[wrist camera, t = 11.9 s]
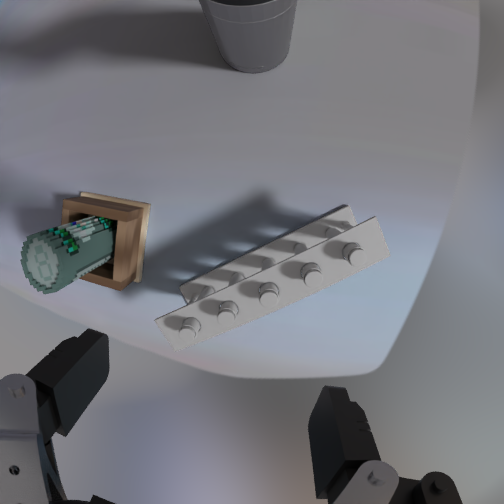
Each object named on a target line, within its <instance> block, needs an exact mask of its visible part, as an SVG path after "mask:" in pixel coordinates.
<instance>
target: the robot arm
mask: <svg viewBox="0 0 504 504" xmlns="http://www.w3.org/2000/svg"><path fill="white" fill-rule="evenodd" d="M199 2H200V4H201V7H202V9H203V11H204V14H205V16H206V18H207V21H208V23H209V26H210V28H211V31H212V33H213V36H214V38H215V40H216V43H217V46H218V48H219V51H220V53H221V55H222V57H223V59H224V60H225V61H226V62H227V64H229V65H230V66H231V67H233V68H235V69H237V70H239V71H242V72H246V73H261V72H265V71H269V70H271V69H273V68H275V67H277V66H278V65H279V64H280V63H282V61H283V60H284V59H285V58H286V56H287V54H288V51H289V46H290V41H291V35H292V29H293V23H294V17H295V11H296V4H297V0H199ZM108 374H109V340H108V336H107V335H106V334H104V333H101V332H98V331H95V330H92V329H87V330H86V331H85V332H84V333H82V334H81V335H80V336H79V337H78V338H77V337H75V336H74V337H71V338H69V339H66V340H64V341H62V342H61V343H60V344H59V345H58V346H57V347H55V350H52V351H51V352H50V353H49V355H47V356H46V357H44V358H43V359H42V360H41V361H40V362H39V363H38V364H37V365H36V366H35V367H34V368H32V369H31V370H30V371H29V372H28V373H27V374H26V375H22V374H10V375H7V376H5V377H4V378H3V379H1V380H0V504H115V503H112V502H110V501H107V500H105V499H103V498H100V497H98V496H95V495H93V497H92V499H91V501H90V502H88V501H81V500H68V499H67V497H66V494H65V492H64V489H63V486H62V483H61V480H60V476H59V471H58V467H57V462H56V458H55V453H54V447H53V443H52V438H51V437H52V436H53V434H54V433H55V432H57V433H59V434H61V435H63V436H65V437H66V436H67V435H68V433H69V432H70V430H71V429H72V428H73V426H74V425H75V423H76V422H77V420H78V419H79V417H80V416H81V415H82V413H83V412H84V411H85V409H86V408H87V406H88V405H89V404H90V402H91V401H92V399H93V398H94V397H95V395H96V394H97V393H98V391H99V390H100V388H101V387H102V386H103V384H104V383H105V382H106V380H107V377H108ZM367 422H368V421H367V418H366V415H365V412H364V410H363V409H362V408H361V407H360V406H359V405H358V404H357V403H356V402H351V401H350V399H349V396H348V393H347V390H346V388H343V387H334V386H324V387H323V389H322V391H321V393H320V395H319V398H318V400H317V403H316V404H315V407H314V409H313V411H312V413H311V416H310V419H309V424H308V432H309V439H310V448H311V456H312V463H313V472H314V482H315V491H316V498H317V499H328V504H462V501H461V499H460V496H459V493H458V491H457V488H456V486H455V484H454V481H453V480H452V479H451V478H450V477H449V476H448V475H446V474H444V473H442V472H430V473H428V474H426V475H425V476H424V477H423V478H422V479H421V480H413V479H407V478H402V477H399V476H398V473H397V471H396V470H395V469H394V468H393V467H392V466H390V465H389V464H387V463H385V462H382V461H381V458H380V455H379V452H378V450H377V447H376V444H375V441H374V438H373V435H372V432H370V430H371V429H370V426H369V424H368V423H367Z"/></svg>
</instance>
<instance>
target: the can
mask: <svg viewBox="0 0 504 504" xmlns="http://www.w3.org/2000/svg"><path fill="white" fill-rule="evenodd" d="M117 225H118V220H114V219H109V218H104V217H100V216H93V217H89V218H86V219H82V220H79V221H75V222H72V223H68V224H65V225H61V226H58V227H55V228H51V229H48V230H45V231H41V232H38V233H36V234H33V235H30V236H28V237H27V241H26V242H23V245H24V246H23V247H22V250H23V251H21V255H22V259H21V264H22V267H23V270H24V274H25V277H26V278H28V279H29V282H30V285H33V287H34V288H37V291H43V294H48V293H53V292H57V291H59V290H60V289H62V288H64V287H65V286H67V285H69V284H70V283H72V282H73V281H75V280H77V279H78V278H80V277H82V276H84V275H85V274H87V273H89V272H90V271H92V270H94V269H95V268H97V267H99V266H101V265H102V264H104V263H106V262H107V261H109V260H111V259H113V258H114V256H115V245H116V234H117Z"/></svg>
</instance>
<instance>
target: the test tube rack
mask: <svg viewBox="0 0 504 504" xmlns="http://www.w3.org/2000/svg"><path fill="white" fill-rule="evenodd" d="M356 243H357V244H358V245H359V246H358V245H357V244H356ZM389 256H391V255H390V252H389V250H388V247H387V244H386V241H385V239H384V236H383V233H382V231H381V228H380V225H379V223H378V220H377V218H376V216H374V217H372V218H370V219H368V220H366V221H364V222H362V223H360V224H358V225H357V222H356V220H355V218H354V215H353V213H352V210H351V208H350V206H349V205H347V206H345V207H343V208H341V209H339V210H337V211H335V212H332V213H330V214H328V215H326V216H324V217H322V218H320V219H318V220H316V221H314V222H312V223H310V224H308V225H305V226H303V227H301V228H299V229H297V230H295V231H293V232H291V233H289V234H287V235H285V236H283V237H281V238H278V239H276V240H274V241H272V242H270V243H268V244H266V245H264V246H262V247H260V248H258V249H256V250H254V251H251V252H249V253H247V254H245V255H243V256H241V257H239V258H237V259H235V260H233V261H231V262H229V263H227V264H224V265H222V266H220V267H218V268H216V269H214V270H212V271H210V272H208V273H206V274H204V275H202V276H200V277H197V278H195V279H193V280H191V281H189V282H187V283H185V284H183V285H181V286H180V287H179V289H180V291H181V292H182V294H183V296H184V297H185V299H186V301H187V303H188V304H187V305H186V306H183V307H181V308H179V309H177V310H175V311H172V312H170V313H168V314H166V315H163V316H161V317H159V318H157V319H155V320H154V321H155V322H156V324H157V325H158V327H159V329H160V330H161V332H162V333H163V335H164V336H165V338H166V339H167V341H168V342H169V344H170V345H171V347H172V348H173V350H174V351H175V352H176V351H179V350H182V349H184V348H187V347H190V346H192V345H195V344H197V343H200V342H202V341H205V340H207V339H210V338H212V337H215V336H217V335H220V334H222V333H225V332H227V331H230V330H232V329H234V328H237V327H239V326H242V325H244V324H246V323H249V322H251V321H253V320H256V319H258V318H260V317H263V316H265V315H267V314H270V313H272V312H274V311H276V310H279V309H281V308H283V307H285V306H288V305H290V304H292V303H294V302H297V301H299V300H301V299H303V298H305V297H307V296H310V295H312V294H314V293H316V292H318V291H320V290H322V289H325V288H327V287H329V286H331V285H333V284H335V283H337V282H339V281H341V280H343V279H345V278H347V277H349V276H351V275H353V274H356V273H358V272H360V271H362V270H364V269H366V268H368V267H370V266H371V265H373V264H375V263H377V262H379V261H381V260H383V259H385V258H387V257H389ZM344 257H345V258H346V259H347V260H348V261H347V260H346V259H345V258H344ZM317 265H318V266H317ZM318 267H319V268H318ZM319 269H320V270H319ZM301 273H302V274H301ZM302 276H303V277H302ZM259 289H260V292H259ZM278 290H279V291H278ZM221 303H222V304H221ZM220 305H221V307H220ZM237 310H238V312H237ZM200 326H201V328H200ZM199 328H200V329H199Z"/></svg>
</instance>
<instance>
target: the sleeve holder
mask: <svg viewBox="0 0 504 504" xmlns="http://www.w3.org/2000/svg"><path fill="white" fill-rule="evenodd" d="M150 206H151V204H148V203H143V202H138V201H133V200H127V199H122V198H117V197H111V196H106V195H100V194H95V193H89V192H81V197H75V198H69V199H63V209H62V222H61V225H65V224H68V223H72V222H75V221H79V220H82V219H86V218H89V217H93V216H100V217H104V218H109V219H114V220H118V225H117V234H116V245H115V256H114V258H113V259H111V260H109V261H107V262H106V263H104V264H102V265H101V266H99V267H97V268H95V269H94V270H92V271H90V272H89V273H87V274H85V275H84V276H82V277H80V278H79V279H82V280H86V281H89V282H92V283H95V284H98V285H102V286H105V287H108V288H112V289H115V290H119V291H121V290H123V289H124V288H125V287H126V286H127V285H129V284H130V283H131V282H132V281H134V282H138V283H139V282H140V281H141V279H142V269H143V259H144V250H145V242H146V234H147V227H148V219H149V212H150Z"/></svg>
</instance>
